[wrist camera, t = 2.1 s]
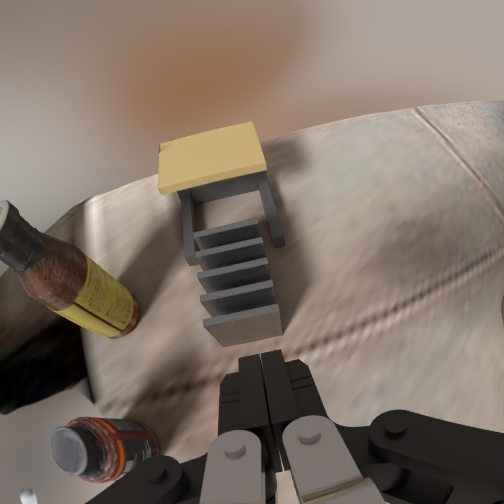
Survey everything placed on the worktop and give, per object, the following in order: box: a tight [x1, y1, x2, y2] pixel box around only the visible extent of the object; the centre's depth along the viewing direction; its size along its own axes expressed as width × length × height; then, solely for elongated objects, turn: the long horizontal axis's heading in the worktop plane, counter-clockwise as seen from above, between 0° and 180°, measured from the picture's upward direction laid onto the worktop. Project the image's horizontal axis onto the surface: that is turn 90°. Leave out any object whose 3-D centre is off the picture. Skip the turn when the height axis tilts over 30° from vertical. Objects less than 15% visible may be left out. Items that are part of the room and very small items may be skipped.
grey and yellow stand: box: [158, 122, 285, 266], centre depth 33 cm, size 11×10×10 cm
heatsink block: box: [193, 218, 283, 347], centre depth 29 cm, size 6×9×8 cm, turn 11°
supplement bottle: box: [49, 417, 159, 483], centre depth 20 cm, size 6×6×11 cm
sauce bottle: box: [0, 200, 139, 339], centre depth 24 cm, size 7×6×20 cm
